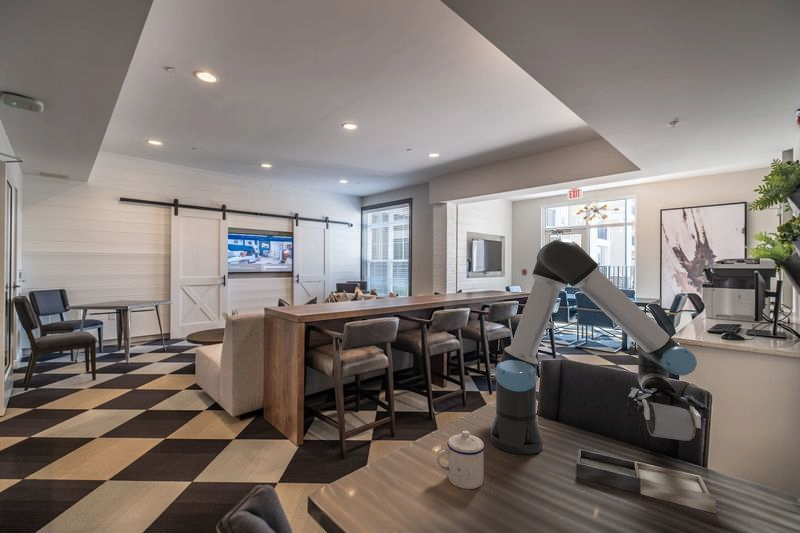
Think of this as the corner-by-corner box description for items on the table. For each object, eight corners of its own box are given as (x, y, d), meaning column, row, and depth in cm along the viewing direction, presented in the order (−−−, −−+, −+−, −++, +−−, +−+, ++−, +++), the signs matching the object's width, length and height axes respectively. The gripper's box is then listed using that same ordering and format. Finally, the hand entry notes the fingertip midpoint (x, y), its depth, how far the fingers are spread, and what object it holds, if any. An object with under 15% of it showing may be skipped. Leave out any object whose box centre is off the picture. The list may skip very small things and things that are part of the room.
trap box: (576, 477, 88) (576, 463, 88) (578, 454, 99) (578, 441, 99) (716, 513, 75) (716, 497, 75) (700, 482, 86) (700, 467, 86)
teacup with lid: (477, 468, 92) (477, 423, 92) (489, 489, 83) (489, 439, 83) (432, 470, 90) (432, 425, 91) (440, 492, 81) (440, 441, 82)
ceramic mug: (698, 447, 79) (697, 412, 79) (655, 441, 81) (654, 408, 82) (678, 428, 89) (677, 398, 89) (640, 424, 91) (640, 394, 92)
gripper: (706, 410, 95) (735, 445, 75) (614, 396, 105) (617, 424, 85) (706, 382, 95) (734, 410, 75) (613, 371, 105) (617, 393, 86)
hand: (672, 417), depth 80 cm, fingers closed on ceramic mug, 9 cm apart
